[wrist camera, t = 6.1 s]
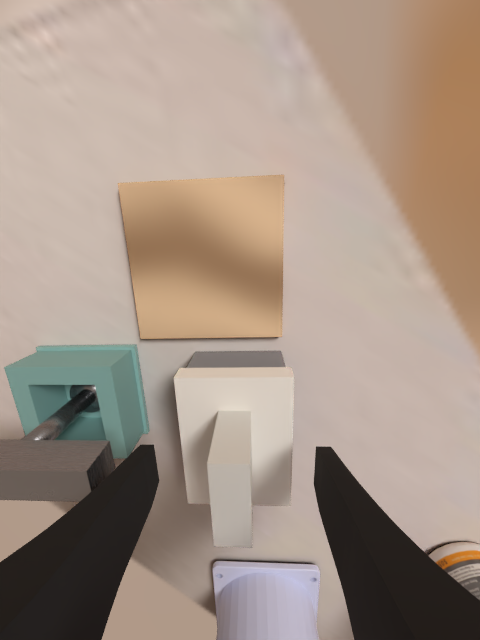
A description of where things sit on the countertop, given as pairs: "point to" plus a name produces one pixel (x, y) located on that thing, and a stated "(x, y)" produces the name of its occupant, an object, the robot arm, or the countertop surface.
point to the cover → (236, 443)
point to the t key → (56, 457)
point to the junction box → (237, 359)
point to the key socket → (83, 369)
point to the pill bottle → (461, 564)
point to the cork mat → (206, 256)
